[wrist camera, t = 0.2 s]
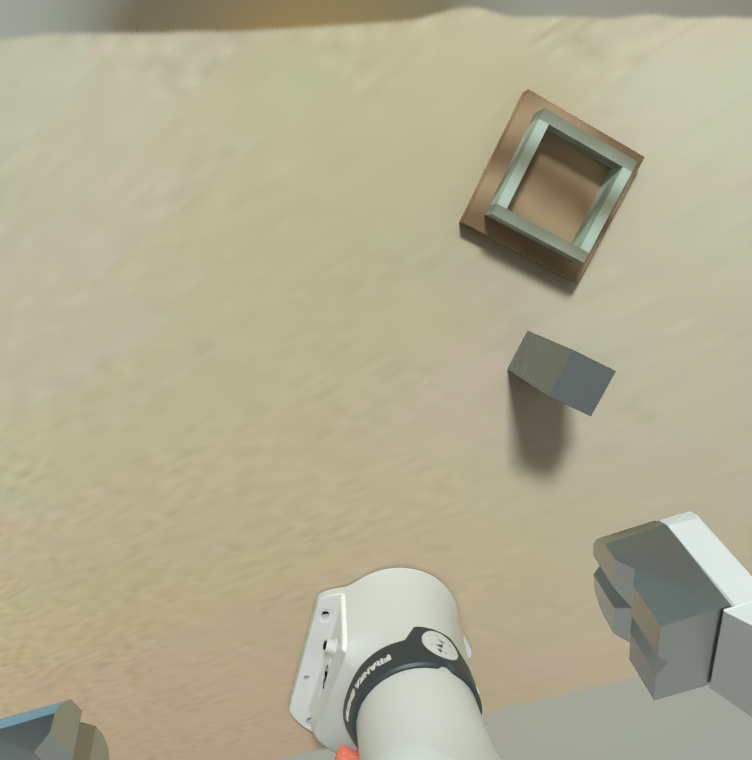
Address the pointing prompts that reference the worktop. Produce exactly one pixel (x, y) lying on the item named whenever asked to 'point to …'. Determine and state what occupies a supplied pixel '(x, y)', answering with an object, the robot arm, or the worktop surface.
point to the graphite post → (561, 372)
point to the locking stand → (551, 187)
